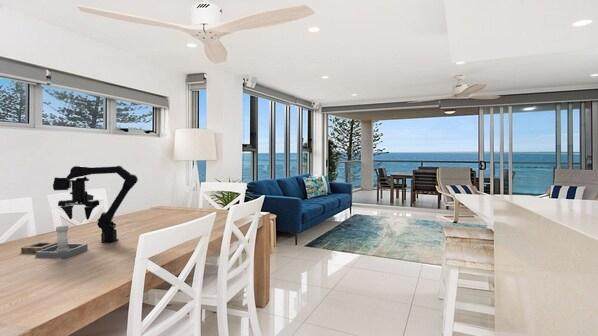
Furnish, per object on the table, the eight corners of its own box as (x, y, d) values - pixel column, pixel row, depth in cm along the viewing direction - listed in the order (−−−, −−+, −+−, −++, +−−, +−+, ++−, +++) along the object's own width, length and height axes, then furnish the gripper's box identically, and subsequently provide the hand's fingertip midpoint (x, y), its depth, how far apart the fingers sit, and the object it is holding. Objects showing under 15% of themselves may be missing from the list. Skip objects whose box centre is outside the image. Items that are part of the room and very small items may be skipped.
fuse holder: (58, 248, 160) (58, 242, 159) (41, 254, 150) (41, 248, 149) (39, 247, 160) (39, 241, 160) (21, 254, 150) (21, 247, 150)
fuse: (70, 249, 154) (69, 225, 154) (67, 252, 150) (66, 227, 149) (58, 250, 152) (57, 226, 152) (54, 253, 148) (54, 228, 147)
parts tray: (87, 249, 157) (87, 243, 157) (64, 258, 144) (64, 252, 143) (60, 248, 158) (60, 243, 158) (35, 258, 144) (35, 251, 144)
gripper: (106, 188, 173) (106, 216, 174) (73, 187, 174) (74, 216, 175) (91, 190, 162) (92, 220, 163) (56, 190, 163) (57, 220, 164)
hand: (79, 219), depth 167 cm, fingers open, 9 cm apart
